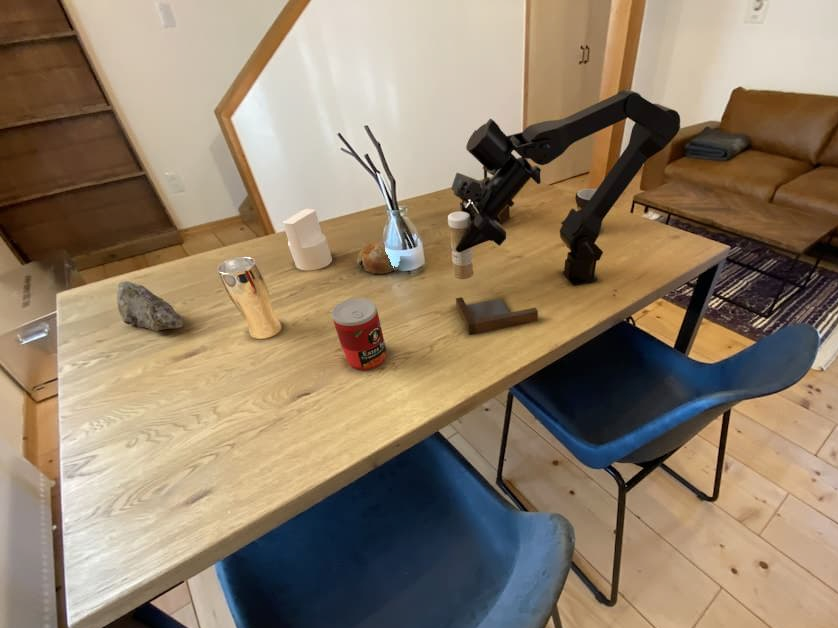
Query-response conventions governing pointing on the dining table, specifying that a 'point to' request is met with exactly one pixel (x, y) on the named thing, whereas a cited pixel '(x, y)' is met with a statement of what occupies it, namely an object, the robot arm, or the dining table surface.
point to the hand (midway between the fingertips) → (454, 246)
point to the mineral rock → (145, 308)
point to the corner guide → (492, 315)
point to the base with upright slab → (307, 241)
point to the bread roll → (375, 259)
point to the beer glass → (249, 295)
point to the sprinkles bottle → (457, 231)
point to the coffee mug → (584, 197)
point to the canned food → (360, 333)
